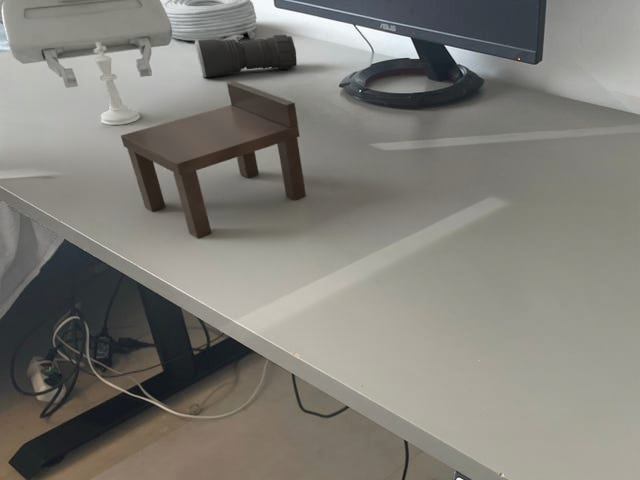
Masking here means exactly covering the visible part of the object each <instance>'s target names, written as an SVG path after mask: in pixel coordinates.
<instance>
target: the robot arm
mask: <svg viewBox="0 0 640 480" xmlns="http://www.w3.org/2000/svg"><path fill="white" fill-rule="evenodd" d="M0 24H1V25H3V29H4V33H5V37H6V40H7V43H8V47H9V49H10V52H11V54H12V55H11V56H12V57H13V58H14V59H15V60H16V61H17V62H19V63H21V64H25V65H26V64H34V63H43V62H46V64H47V67H48V68H49V69H50V70H51V71H52V72H53V73H55V74H56V75H58V77H60V78H61V79H62V82H63V84H64V87H65V88H66V89H69V88H74V87H75V88H76V87H78V86H79V85H78V81H77V77H76V75H75V72H74V70H73V68H71V67H70V68H65V67H64V66H63V65H62V64H60V61H59V60H66V59H72V58H81V57H89V56H90V57H91V56H95V55H96V56H98V55H99V53H94V50H93V49H96V48H97V47H96V43H98V42H99V43H101V46H105V47H106V50H105V51H103V53H104V55H105V54H111V53H112V54H113V53H120V52H126V51H127V52H128V51H135V50H138V51H139V53H140V55H141V56H142V57H141V58H138V59H135V63H136V69H137V72H138V73H139V76H140V78H144V77H151V76H153V71H152V66H151V64H150V61H151V57H152V48H158V47H159V48H160V47H168V46H169V45H170V44H171V42H172V39H173V37H172V26H171V23H170V20H169V18H168V15H167V13H166V11H165V9H164V7H163V3H162V1H161V0H0Z"/></svg>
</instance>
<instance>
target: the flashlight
mask: <svg viewBox="0 0 640 480" xmlns="http://www.w3.org/2000/svg"><path fill="white" fill-rule="evenodd" d="M194 47H195V51H196V55H197V60H198V64H199V69H200V72H201V77H202V78H211V77H212V78H213V77H222V76H225V75H227V74H230V73H231V74H234V73H235V74H237V73H241V72H242V70H244V69H246V70H254V69H263V70H265V69H270V68H271V69H279V70H288V69H289V70H290V69H292V68H293V67H296V66H297V63H298V61H297V60H298V59H297V51H296V50H297V49H296V47H295V43H294V39H293V37H292V36H291V35H288V36H287V35H286V34H276V35H273V36H272V37H266V38H258V39H254V40H253V39H250V40H241V42H240V41H239V42H237V43H236V42H235V40H234V39H232V40H225V41H222V40H216V39H210V40H196V41H194Z"/></svg>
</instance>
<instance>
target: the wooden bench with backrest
mask: <svg viewBox="0 0 640 480" xmlns="http://www.w3.org/2000/svg"><path fill="white" fill-rule="evenodd" d="M226 87H227V91H228V95H229V100H230V104H229V105H226V106H223V107H219V108H216V109H211V110H208V111H204V112H201V113H198V114H194V115H190V116H186V117H182V118H178V119H175V120H171V121H167V122H164V123H161V124H157V125H154V126H150V127H147V128H143V129H139V130H136V131H132V132H129V133H125V134H121V135H120V138H121V142H122V145H123V147H124V148H126V149H127V152H128V156H129V158H130V162H131V165H132V168H133V172H134V176H135V179H136V182H137V185H138V189H139V192H140V194H141V198H142V202H143V205H144V208H145V209H147V210H148V211H150V212H152V213H153V212H157V211H159V210H162V209H164V208H166V203H165V199H164V196H163V192H162V188H161V184H160V181H159V178H158V174H157V171H156V167H155V164H157V165H159V166H160V167H162V168H164V169H166V170H168V171H170V172H172V174H173V177H174V181H175V185H176V188H177V192H178V195H179V196H178V197H179V199H180V203H181V206H182V211H183V214H184V218H185V222H186V226H187V228H188V229H187V230H188V233H189V235H191V236H193V237H195V238H196V239H201V238H203V237H205V236H207V235H211V234H212V229H211V226H210V222H209V217H208V213H207V210H206V209H207V208H206V205H205V201H204V197H203V193H202V192H203V191H202V188H201V184H200V180H199V176H198V171H199V170H202V169H205V168H208V167H211V166H214V165H217V164H220V163H223V162H227V161H229V160H232V159H236V160H237V161H236V162H237V165H238V170H239V174H240V175H241V176H243V177H244V178H247V179H250V178H252V177H255V176H259V175H260V172H259V167H258V162H257V157H256V152H257V151H260V150H263V149H266V148H269V147H272V146H275V145H277V150H278V156H279V162H280V169H281V174H282V179H283V186H284V191H285V196H286V197H287V198H289V199H291V200H292V201H297V200H299V199H302V198H304V197H307V192H306V187H305V179H304V173H303V167H302V160H301V159H302V158H301V154H300V147H299V141H298V138H300V131H299V130H300V128H299V122H298V116H297V109H296V103H295V102H294V101H291V100H288V99H286V98H283V97H280V96H277V95H274V94H272V93H269V92H267V91H263V90H260V89H259V88H258V89H257V88H255V87H253V86H249V85H246V84H244V83H241V82H239V81H235V80H233V81H229V82H226Z"/></svg>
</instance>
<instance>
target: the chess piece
mask: <svg viewBox="0 0 640 480" xmlns="http://www.w3.org/2000/svg"><path fill="white" fill-rule="evenodd" d="M96 47H97V48H96V49H93V50H94V53H99V54H98V56H97V57H95V58H94V62H95V64H96V65H97V66H98V68H99V70H100V71H101V72H102V75H100V76H99V80H100V81H103V82H105V83H106V90H107V95H108V101H109V106H108V110H106V111H103V112H102V114H101V115H100V119H101V122H102V123H103V124H105V125H108V126H120V125H126V124H127V125H128V124H130V123H135V122H136V121H138V120H139V119H140V114H139V112H138V110H137V109H135V108H131V107H127V104H124V103H123V101H122V98H121V96H120V94H119V91H118V89H117V87H116V84H115V82H114V80H116V79H117V78H118V76H117V74H115V73H112V58H111V56H107V55H105V54H104V53H103V51H105V50H106V47H105V46H101V43H99V42H98V43H96Z"/></svg>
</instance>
